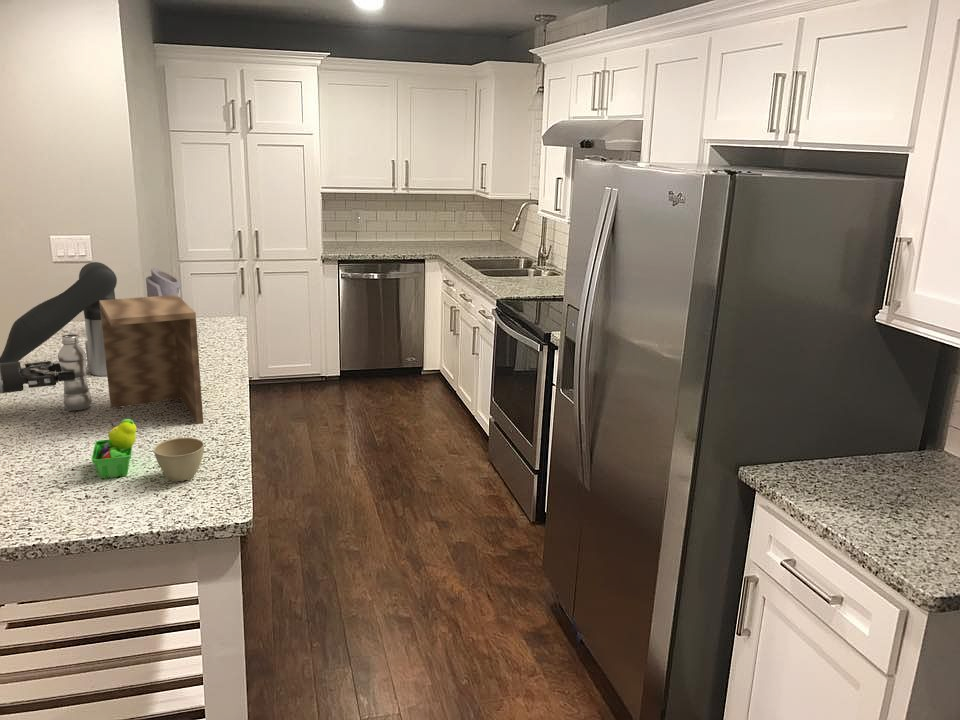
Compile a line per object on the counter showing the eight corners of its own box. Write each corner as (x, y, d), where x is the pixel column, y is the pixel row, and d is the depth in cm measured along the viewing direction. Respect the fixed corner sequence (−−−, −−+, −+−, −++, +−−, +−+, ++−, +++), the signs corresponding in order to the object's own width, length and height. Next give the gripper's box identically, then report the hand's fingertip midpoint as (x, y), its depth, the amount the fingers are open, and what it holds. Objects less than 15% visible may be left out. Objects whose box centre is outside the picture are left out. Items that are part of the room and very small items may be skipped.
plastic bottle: (81, 414, 197) (72, 340, 191) (58, 411, 198) (49, 337, 193) (98, 406, 203) (90, 334, 198) (75, 403, 204) (67, 331, 199)
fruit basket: (97, 461, 170) (92, 414, 167) (140, 456, 173) (136, 410, 170) (93, 482, 160) (87, 432, 157) (139, 477, 163) (134, 428, 160)
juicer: (202, 330, 284) (197, 265, 277) (192, 341, 269) (187, 273, 262) (117, 330, 280) (110, 264, 273) (102, 341, 264) (95, 272, 257)
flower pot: (164, 467, 168) (162, 437, 166) (211, 467, 169) (209, 437, 167) (149, 487, 159) (146, 455, 157) (199, 487, 159) (196, 455, 157)
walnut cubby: (122, 435, 185) (110, 319, 176) (110, 406, 203) (99, 300, 195) (203, 423, 194) (195, 312, 186) (185, 396, 213) (177, 294, 205)
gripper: (1, 384, 196) (71, 376, 204) (2, 401, 184) (77, 392, 193) (-3, 356, 194) (68, 349, 202) (-2, 371, 182) (74, 364, 191)
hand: (73, 370), depth 197 cm, fingers open, 8 cm apart
